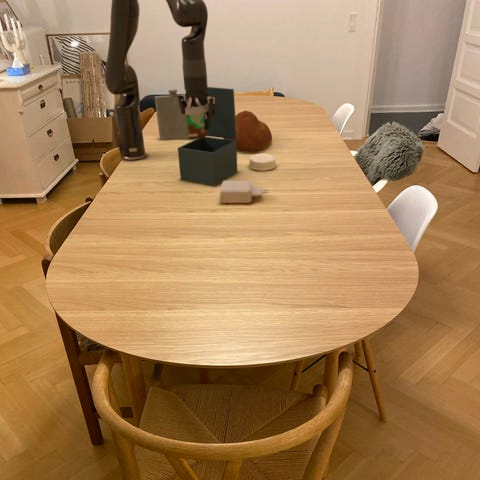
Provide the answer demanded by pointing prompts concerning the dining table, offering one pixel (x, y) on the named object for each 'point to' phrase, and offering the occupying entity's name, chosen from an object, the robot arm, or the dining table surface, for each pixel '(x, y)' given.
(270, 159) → the white round disc
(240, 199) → the charger
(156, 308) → the dining table surface
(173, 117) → the hip flask
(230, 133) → the lid
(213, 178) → the cool chest
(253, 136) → the bread
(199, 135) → the food container
